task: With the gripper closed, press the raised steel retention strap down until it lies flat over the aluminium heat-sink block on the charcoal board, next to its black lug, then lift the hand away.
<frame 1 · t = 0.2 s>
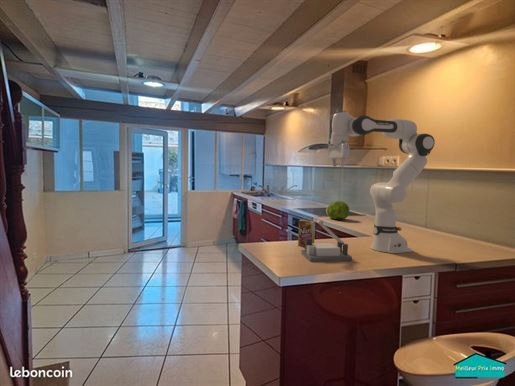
hand: (337, 166, 176), 47 cm above the worktop, tool pointing down, fingers open, 8 cm apart
candy box: (306, 246, 188), on the worktop
heatsink board: (325, 257, 166), on the worktop
strap: (330, 231, 165), point 13 cm above the worktop, hinge at 40.0°
lettuce: (336, 219, 294), on the worktop
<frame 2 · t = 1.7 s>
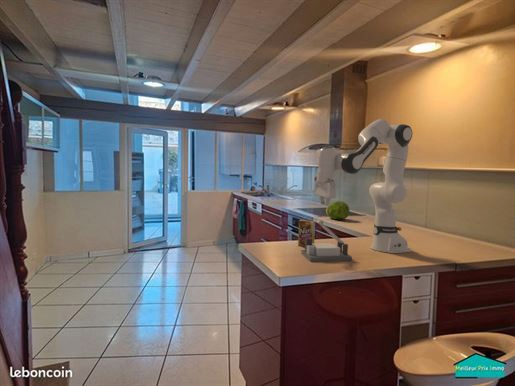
hand: (324, 205, 163), 27 cm above the worktop, tool pointing down, fingers open, 4 cm apart
nothing on the worktop moved.
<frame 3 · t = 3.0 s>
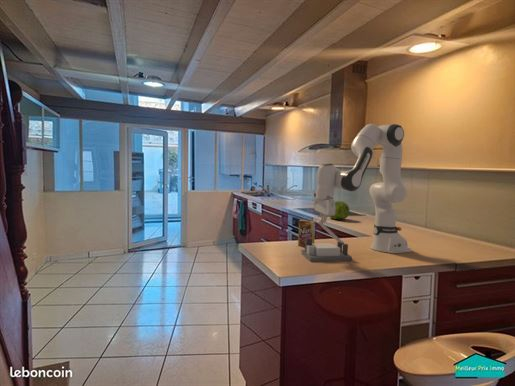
hand: (323, 221, 164), 19 cm above the worktop, tool pointing down, fingers closed, pressing on strap
strap: (330, 231, 165), point 13 cm above the worktop, hinge at 39.8°, touching gripper
everything else where it was.
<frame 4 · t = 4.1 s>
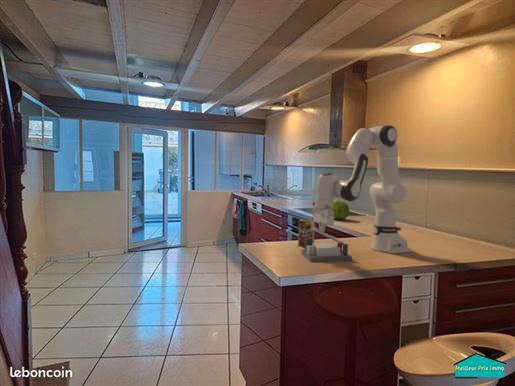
hand: (321, 231, 164), 14 cm above the worktop, tool pointing down, fingers closed, pressing on strap
strap: (327, 235, 165), point 11 cm above the worktop, hinge at 25.7°, touching gripper
everything else where it was.
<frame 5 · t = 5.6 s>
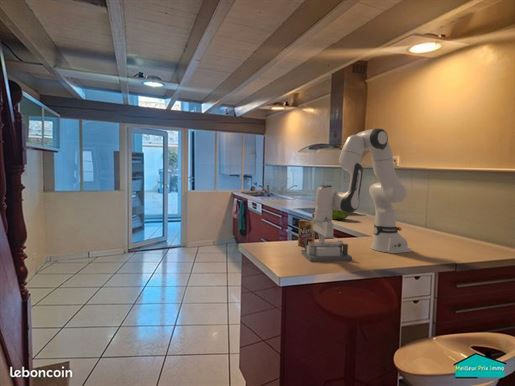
hand: (321, 242, 165), 8 cm above the worktop, tool pointing down, fingers closed, pressing on strap
strap: (325, 243, 165), point 7 cm above the worktop, hinge at -0.2°, touching gripper
everything else where it was.
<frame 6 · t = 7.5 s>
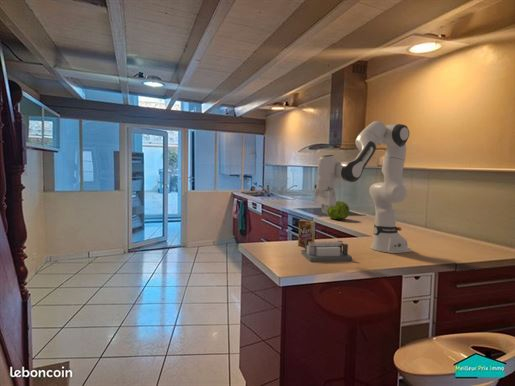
hand: (324, 213, 164), 23 cm above the worktop, tool pointing down, fingers closed
strap: (325, 243, 165), point 7 cm above the worktop, hinge at -0.2°
everything else where it was.
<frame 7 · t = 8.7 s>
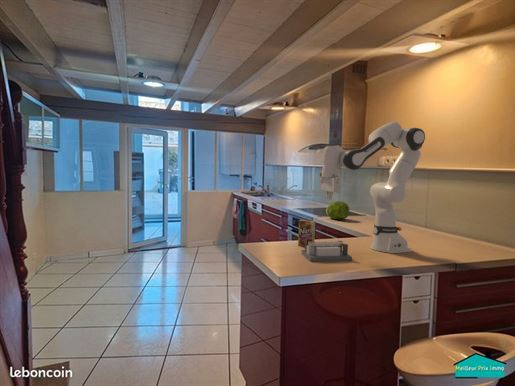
hand: (329, 199, 175), 29 cm above the worktop, tool pointing down, fingers closed
nothing on the worktop moved.
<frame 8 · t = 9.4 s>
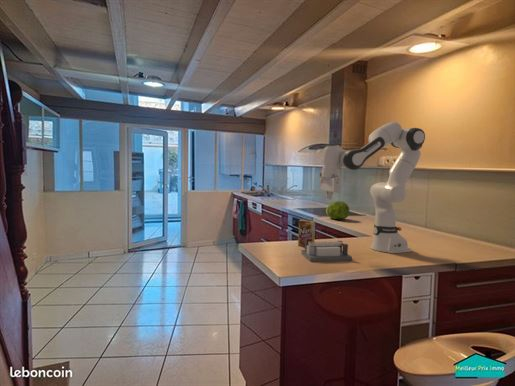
hand: (329, 199, 175), 29 cm above the worktop, tool pointing down, fingers closed
nothing on the worktop moved.
at the end: strap at +0° (first picture: +40°); candy box moved 0.2 cm from its start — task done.
